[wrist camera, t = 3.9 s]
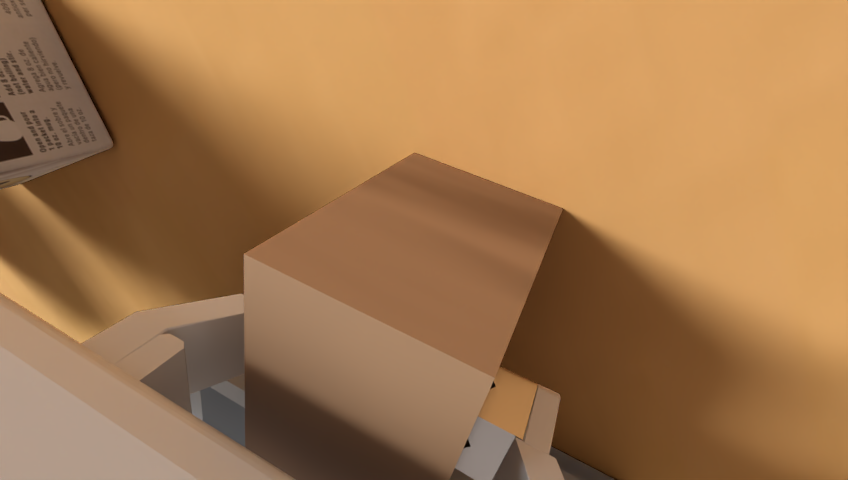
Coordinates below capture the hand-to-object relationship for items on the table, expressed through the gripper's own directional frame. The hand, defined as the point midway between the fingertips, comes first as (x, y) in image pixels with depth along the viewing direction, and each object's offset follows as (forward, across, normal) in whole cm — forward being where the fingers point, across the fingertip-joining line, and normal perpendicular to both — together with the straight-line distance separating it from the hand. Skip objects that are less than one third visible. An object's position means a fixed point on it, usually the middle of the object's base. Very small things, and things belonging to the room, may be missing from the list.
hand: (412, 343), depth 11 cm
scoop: (+3, 0, +3) cm, 4 cm away
